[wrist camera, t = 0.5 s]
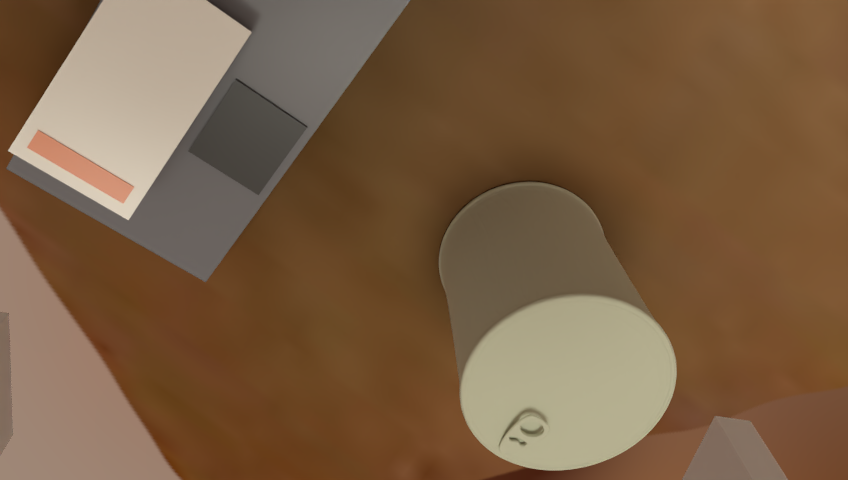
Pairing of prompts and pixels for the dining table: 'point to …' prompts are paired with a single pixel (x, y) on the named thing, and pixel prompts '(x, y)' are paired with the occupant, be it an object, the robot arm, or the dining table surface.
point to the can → (549, 331)
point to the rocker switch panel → (244, 126)
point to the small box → (129, 96)
